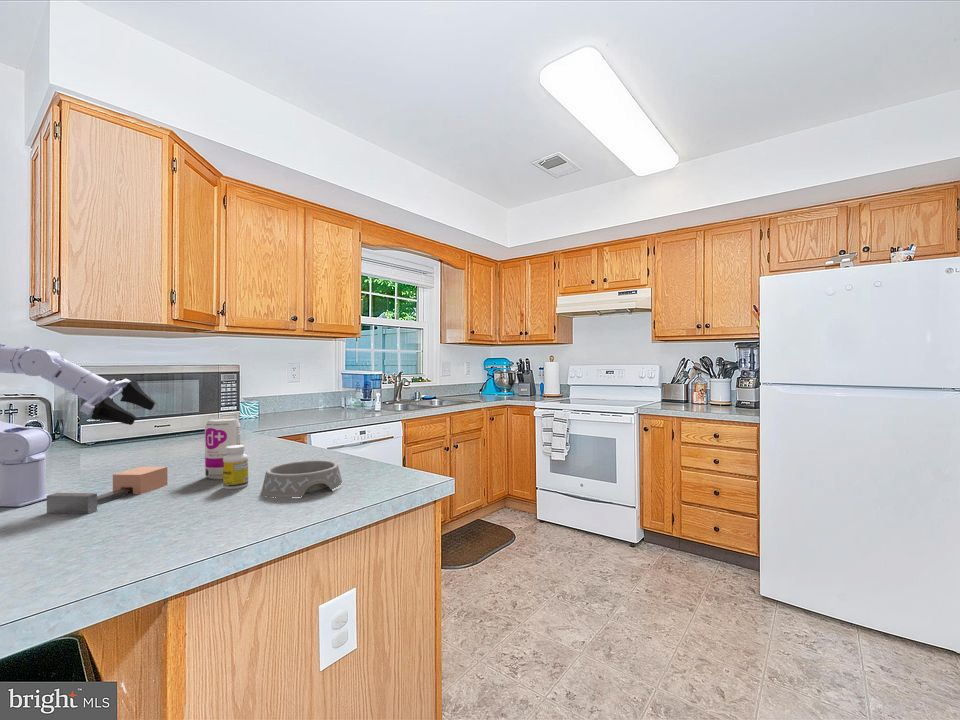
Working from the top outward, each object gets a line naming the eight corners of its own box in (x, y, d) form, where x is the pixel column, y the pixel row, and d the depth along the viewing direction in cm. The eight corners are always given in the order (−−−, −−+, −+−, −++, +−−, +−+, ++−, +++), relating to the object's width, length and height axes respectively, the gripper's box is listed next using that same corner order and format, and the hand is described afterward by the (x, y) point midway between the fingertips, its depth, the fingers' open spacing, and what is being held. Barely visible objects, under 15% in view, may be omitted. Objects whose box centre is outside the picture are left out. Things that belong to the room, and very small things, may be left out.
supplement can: (225, 480, 117) (224, 421, 117) (197, 479, 119) (197, 421, 119) (247, 473, 125) (247, 417, 125) (221, 471, 127) (221, 417, 127)
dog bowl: (251, 489, 110) (251, 466, 110) (325, 476, 122) (325, 455, 122) (275, 505, 97) (275, 479, 97) (355, 488, 109) (355, 465, 109)
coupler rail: (46, 513, 92) (46, 495, 92) (104, 494, 105) (104, 479, 105) (87, 513, 92) (87, 496, 92) (141, 495, 105) (141, 479, 105)
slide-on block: (112, 493, 106) (112, 474, 106) (141, 484, 114) (141, 466, 114) (140, 494, 106) (140, 474, 106) (167, 485, 114) (167, 467, 114)
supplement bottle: (219, 487, 111) (219, 446, 111) (243, 482, 115) (243, 443, 115) (227, 491, 107) (227, 449, 107) (251, 486, 111) (251, 445, 111)
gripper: (66, 382, 97) (131, 415, 100) (112, 359, 110) (168, 388, 114) (54, 407, 98) (118, 438, 102) (100, 381, 112) (155, 409, 116)
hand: (143, 413), depth 108 cm, fingers open, 7 cm apart
